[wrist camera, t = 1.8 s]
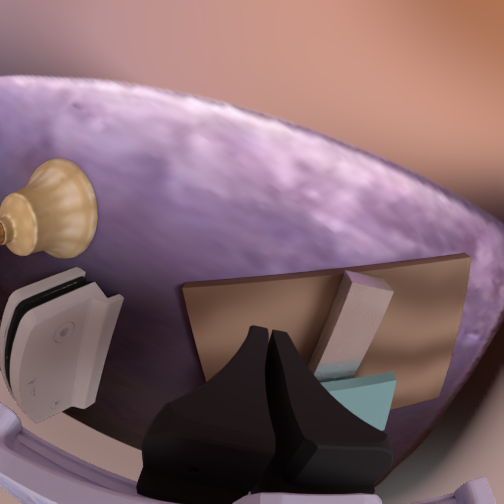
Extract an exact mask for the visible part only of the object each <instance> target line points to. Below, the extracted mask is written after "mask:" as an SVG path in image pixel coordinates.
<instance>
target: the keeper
mask: <svg viewBox="0 0 504 504" xmlns="http://www.w3.org/2000/svg"><path fill="white" fill-rule="evenodd" d="M396 381H397V379H396V377H395V375H394V373H393V371H391V372H386V373H381V374H376V375H370V376H364V377H358V378H352V379H345V380H338V381H330V382H322V383H321V384H322V385H323V386H324V388H325V389H326V390H327V391H328V392H329V393H330V394H331V395H332V396H333V397H334V398H335V399H336V400H337V401H339V402H340V403H341V404H342V405H343V406H344V407H346V408H347V409H348V410H349V411H351V412H352V413H353V414H355V415H356V416H358V417H359V418H360V419H362V420H363V421H365V422H366V423H368V424H370V425H372V426H373V427H375V428H377V429H379V430H384V429H385V425H386V421H387V418H388V414H389V410H390V407H391V403H392V399H393V394H394V390H395V386H396Z"/></svg>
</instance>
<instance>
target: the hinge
mask: <svg viewBox="0 0 504 504" xmlns="http://www.w3.org/2000/svg"><path fill="white" fill-rule="evenodd" d="M85 273H86V272H85V271H83V270H82V269H80V268H78V267H75V268H72V269H70V270H67V271H64V272H62V273H59V274H56V275H54V276H51V277H48V278H46V279H43V280H41V281H38V282H35V283H33V284H30V285H28V286H25V287H23V288H20V289H18V290H16V291H14V292H13V293H12V294H11V296H10V297H9V299H8V302H7V305H6V308H5V311H4V314H3V318H2V322H1V327H0V368H1V372H2V375H3V378H4V381H5V383H6V385H7V388H8V390H9V392H10V394H11V395H12V397H13V399H14V400H15V401H16V402H17V404H18V406H19V407H20V409H21V410H22V411H23V412H24V413H25V414H26V415H27V416H28V417H29V418H30V419H31V420H32V421H33V422H35V423H40V422H42V421H44V420H46V419H48V418H50V417H52V416H54V415H55V414H58V413H60V412H62V411H63V410H65V409H67V408H69V407H71V406H74V407H78V408H82V409H85V408H87V407H88V406H90V405H91V404H93V403H95V399H96V395H97V391H98V387H99V382H100V378H101V374H102V371H103V367H104V363H105V359H106V356H107V352H108V348H109V345H110V341H111V338H112V335H113V331H114V328H115V325H116V321H117V318H118V315H119V312H120V309H121V306H122V303H123V300H124V297H122V296H121V295H120V294H118V295H115V296H112V297H110V298H107V297H106V296H105V294H104V293H103V292H102V291H101V289H100V288H99V287H98V285H97V284H96V282H93V283H91V284H90V283H89V282H88V283H86V284H84V283H85V278H84V277H85Z"/></svg>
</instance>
